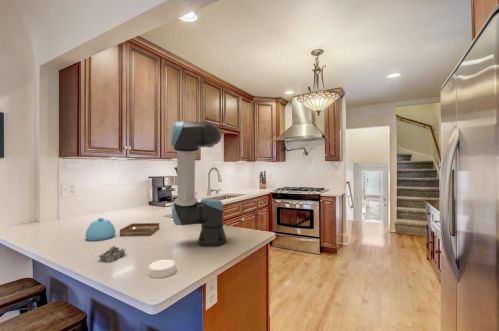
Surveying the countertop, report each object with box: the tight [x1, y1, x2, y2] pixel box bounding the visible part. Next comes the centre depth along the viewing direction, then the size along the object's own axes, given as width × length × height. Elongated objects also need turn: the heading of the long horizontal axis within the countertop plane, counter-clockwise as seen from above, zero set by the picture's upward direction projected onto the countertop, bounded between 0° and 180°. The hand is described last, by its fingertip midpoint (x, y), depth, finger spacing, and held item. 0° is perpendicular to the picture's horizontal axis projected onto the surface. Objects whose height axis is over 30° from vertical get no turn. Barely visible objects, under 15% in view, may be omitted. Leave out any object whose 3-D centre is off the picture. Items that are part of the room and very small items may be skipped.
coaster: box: [148, 259, 177, 279], centre depth 96 cm, size 10×10×4 cm
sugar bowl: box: [84, 217, 116, 242], centre depth 144 cm, size 15×15×12 cm
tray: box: [119, 222, 160, 237], centre depth 155 cm, size 16×18×4 cm
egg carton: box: [97, 245, 127, 263], centre depth 112 cm, size 11×8×4 cm
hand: (184, 192), depth 165 cm, fingers closed
